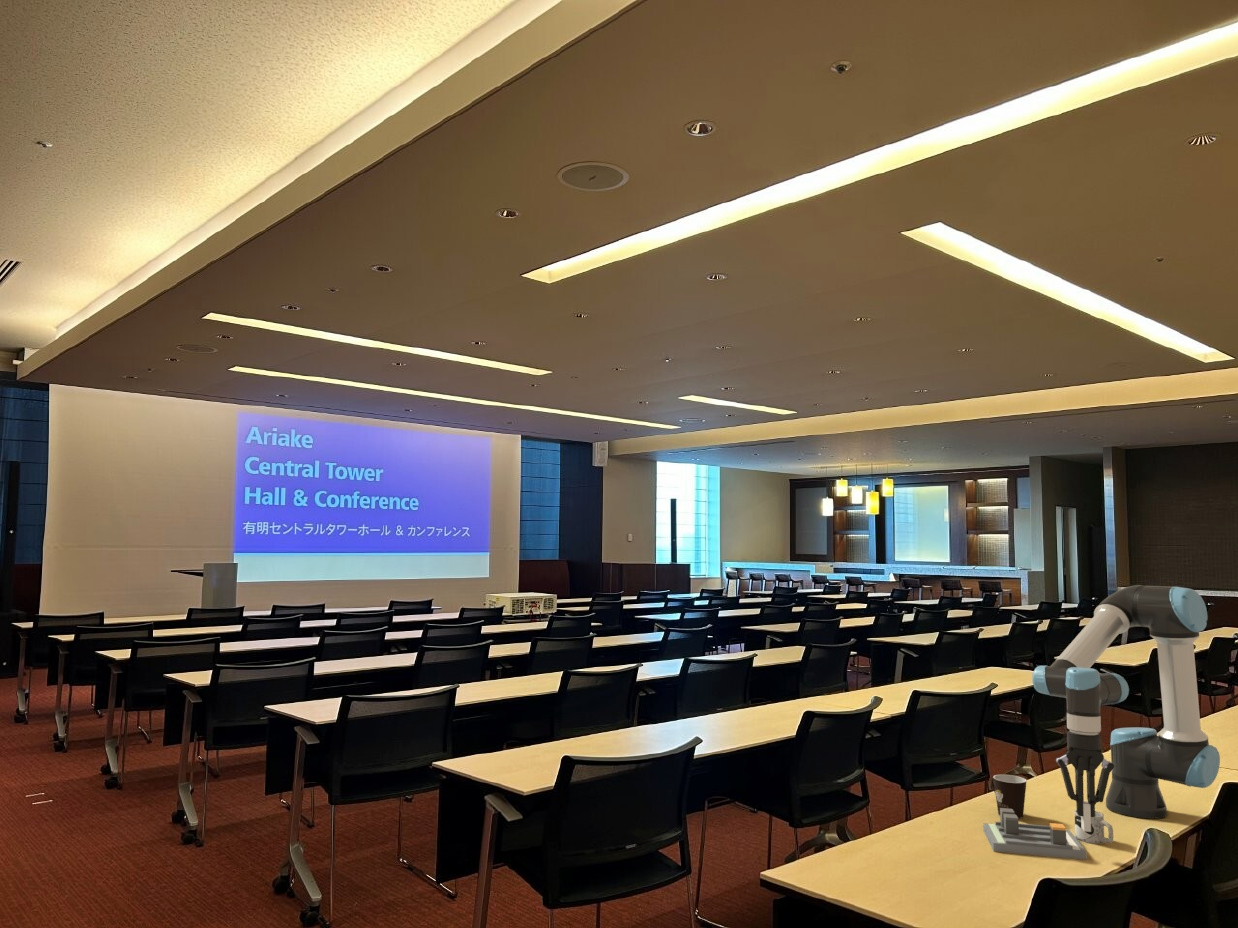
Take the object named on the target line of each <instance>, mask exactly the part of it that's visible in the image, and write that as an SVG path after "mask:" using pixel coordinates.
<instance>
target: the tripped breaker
mask: <svg viewBox="0 0 1238 928" xmlns="http://www.w3.org/2000/svg"><path fill="white" fill-rule="evenodd" d="M1049 826H1050V842H1051V844H1055V845H1066V830H1067V827H1065V824H1063V823H1055V822H1054V823H1052V822H1049Z"/></svg>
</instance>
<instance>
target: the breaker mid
mask: <svg viewBox="0 0 1238 928" xmlns="http://www.w3.org/2000/svg"><path fill="white" fill-rule="evenodd" d="M1003 818H1004V833H1005V834H1011V835H1019V824H1020V822H1019V819H1018V817H1017V815H1015V814H1003Z"/></svg>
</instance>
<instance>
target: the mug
mask: <svg viewBox="0 0 1238 928" xmlns="http://www.w3.org/2000/svg"><path fill="white" fill-rule="evenodd" d="M1105 827H1106V828H1107V830H1108V831H1107V832H1108V836H1107V837H1106V836H1105ZM1074 836H1075V838H1076V839H1077V840H1078V841H1079V842H1081V843H1085V844H1092V845H1101V844H1104V843H1107V844H1111V843H1113V841H1114V829H1113V825H1112V824H1110V823H1109V822H1107V821H1106V820H1104V814H1103V813H1102V812H1100V811H1097V810H1095V817H1091V832H1086V831H1084V830H1083V829H1082V828H1081V816H1079V815H1078V814H1077V809H1075V810H1074Z"/></svg>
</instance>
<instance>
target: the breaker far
mask: <svg viewBox="0 0 1238 928" xmlns="http://www.w3.org/2000/svg"><path fill="white" fill-rule="evenodd" d="M1003 814H1015V812H1014V811H1013V809H1008V808H1000V815H999V816H1000V817H999V819H1000V820H999V822H1000V826H1001V828H1004V818H1003Z"/></svg>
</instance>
